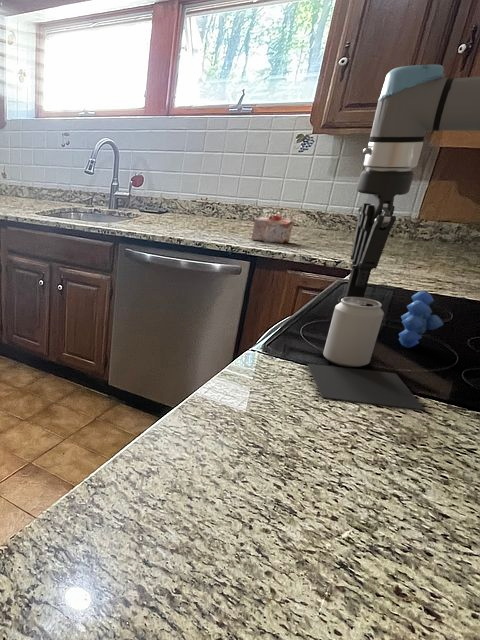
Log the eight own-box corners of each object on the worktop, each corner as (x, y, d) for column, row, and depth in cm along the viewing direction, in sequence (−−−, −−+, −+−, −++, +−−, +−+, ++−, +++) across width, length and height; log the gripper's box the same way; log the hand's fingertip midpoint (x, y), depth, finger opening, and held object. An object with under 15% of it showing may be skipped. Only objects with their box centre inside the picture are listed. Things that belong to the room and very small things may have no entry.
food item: (293, 242, 201) (298, 215, 197) (284, 245, 196) (289, 218, 192) (257, 237, 210) (262, 212, 206) (248, 240, 205) (252, 214, 202)
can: (360, 373, 94) (379, 310, 89) (315, 361, 99) (331, 300, 94) (374, 362, 98) (392, 300, 94) (330, 350, 104) (345, 292, 99)
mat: (395, 375, 93) (395, 373, 93) (424, 412, 81) (425, 409, 81) (306, 365, 98) (307, 363, 97) (322, 399, 85) (322, 397, 85)
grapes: (428, 362, 98) (450, 300, 93) (385, 352, 102) (404, 293, 98) (438, 345, 106) (458, 287, 101) (397, 336, 110) (415, 281, 105)
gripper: (353, 166, 96) (323, 290, 106) (373, 171, 85) (337, 310, 94) (401, 166, 94) (366, 294, 103) (428, 172, 82) (386, 314, 92)
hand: (352, 301), depth 99 cm, fingers closed
